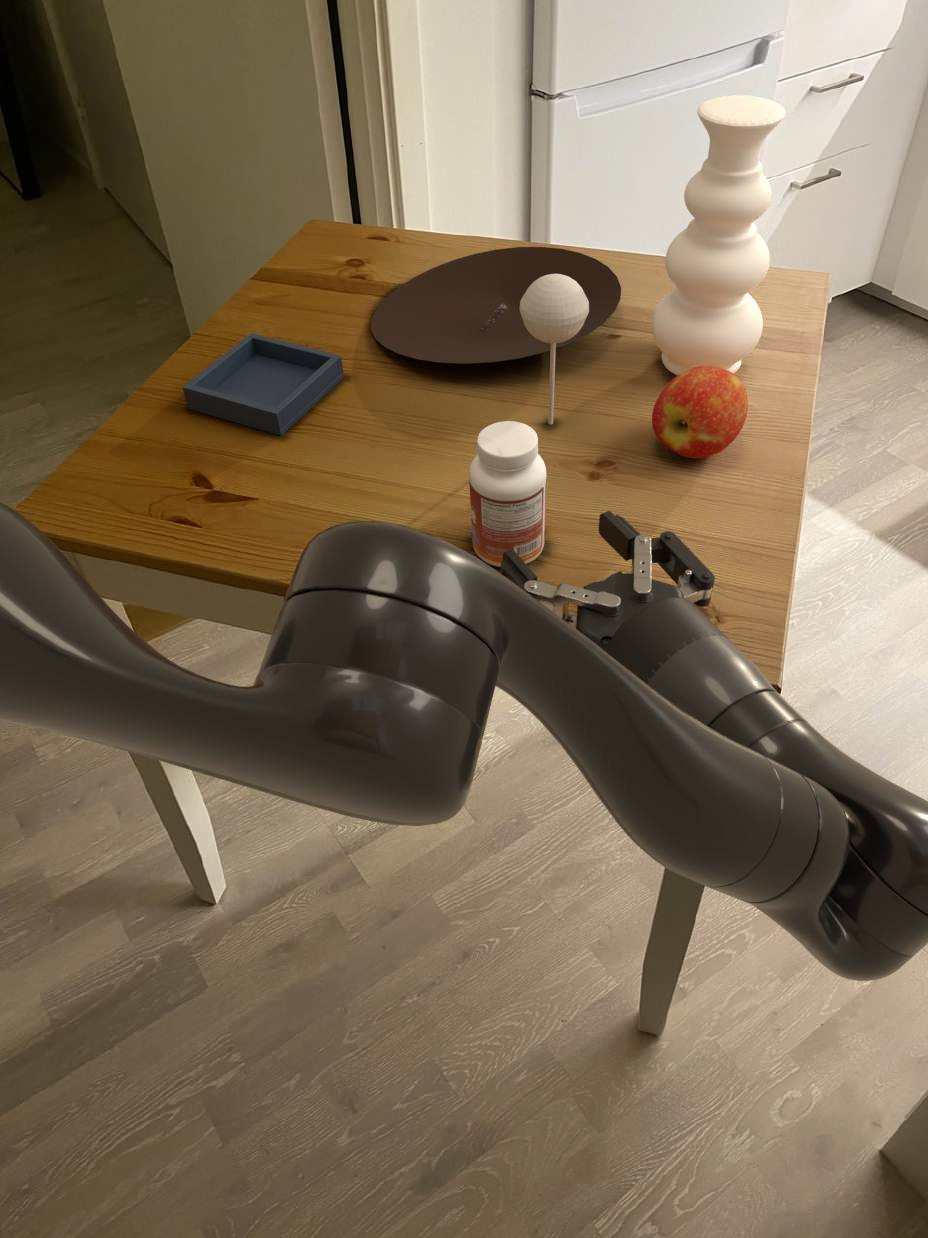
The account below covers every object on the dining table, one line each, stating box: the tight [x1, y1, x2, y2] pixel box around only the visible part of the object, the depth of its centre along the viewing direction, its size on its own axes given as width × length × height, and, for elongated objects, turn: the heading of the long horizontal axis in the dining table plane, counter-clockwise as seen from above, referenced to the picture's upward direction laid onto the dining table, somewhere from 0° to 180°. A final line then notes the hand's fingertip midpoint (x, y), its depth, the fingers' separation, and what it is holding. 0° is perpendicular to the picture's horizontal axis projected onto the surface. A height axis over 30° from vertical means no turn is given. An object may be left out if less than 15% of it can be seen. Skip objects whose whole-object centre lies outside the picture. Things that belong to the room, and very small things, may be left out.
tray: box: [182, 332, 345, 437], centre depth 97 cm, size 12×12×3 cm
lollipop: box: [520, 274, 589, 425], centre depth 87 cm, size 6×6×15 cm
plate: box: [370, 246, 622, 365], centre depth 105 cm, size 28×28×4 cm
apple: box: [651, 366, 749, 459], centre depth 86 cm, size 8×8×8 cm
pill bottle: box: [468, 420, 548, 568], centre depth 76 cm, size 6×6×11 cm
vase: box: [651, 94, 786, 376], centre depth 89 cm, size 11×11×25 cm
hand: (555, 539), depth 71 cm, fingers open, 8 cm apart
